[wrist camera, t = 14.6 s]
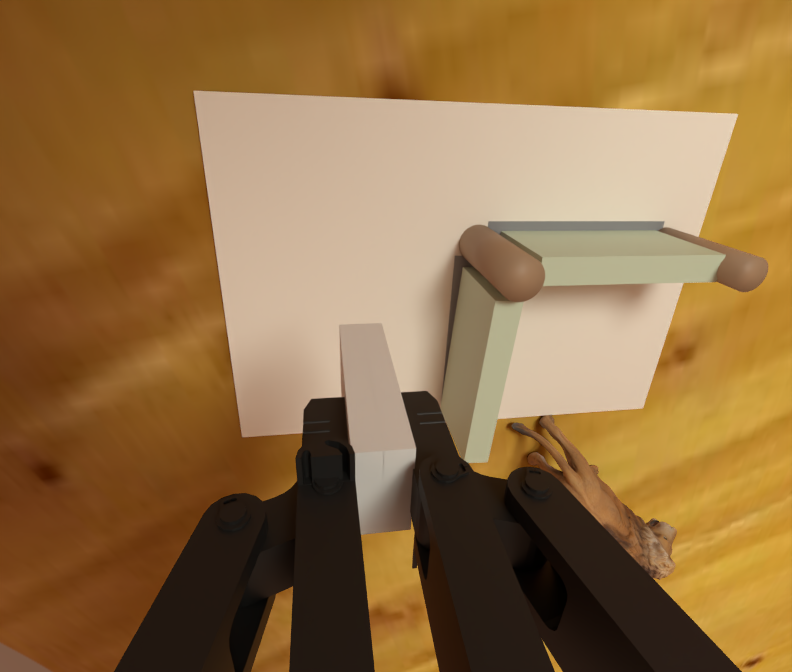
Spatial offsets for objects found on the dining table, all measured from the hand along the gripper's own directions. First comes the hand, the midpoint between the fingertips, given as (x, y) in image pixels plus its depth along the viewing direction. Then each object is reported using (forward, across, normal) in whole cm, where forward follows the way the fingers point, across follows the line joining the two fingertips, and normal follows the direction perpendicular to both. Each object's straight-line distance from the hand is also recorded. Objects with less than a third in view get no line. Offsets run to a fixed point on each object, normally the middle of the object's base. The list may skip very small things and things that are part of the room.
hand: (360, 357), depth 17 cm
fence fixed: (+13, +15, 0) cm, 20 cm away
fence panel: (+13, +8, -7) cm, 16 cm away
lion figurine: (+13, +19, -19) cm, 30 cm away
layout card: (+13, +8, -3) cm, 16 cm away
